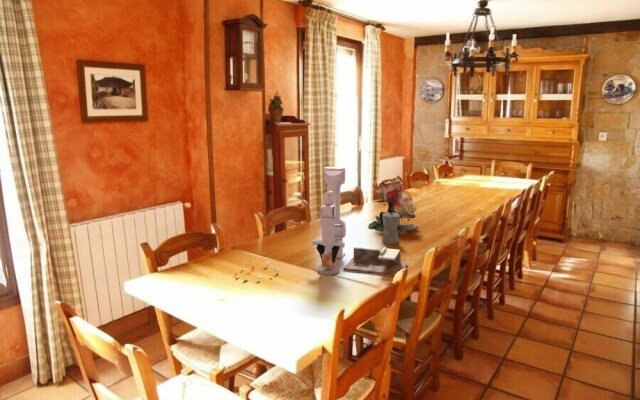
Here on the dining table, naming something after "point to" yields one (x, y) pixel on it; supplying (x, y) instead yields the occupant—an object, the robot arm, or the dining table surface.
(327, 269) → the saucer
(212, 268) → the dining table surface
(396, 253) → the sliding lid
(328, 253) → the block
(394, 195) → the rose bouquet
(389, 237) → the coffeepot
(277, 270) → the game piece set
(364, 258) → the puzzle board
